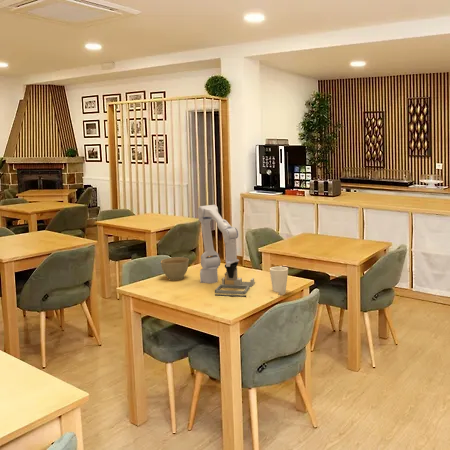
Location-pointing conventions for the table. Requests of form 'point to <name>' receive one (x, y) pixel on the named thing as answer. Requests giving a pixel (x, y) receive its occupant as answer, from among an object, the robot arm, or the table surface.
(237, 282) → the block
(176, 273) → the planter bowl
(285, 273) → the foam cup
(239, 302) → the table surface
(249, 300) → the table surface
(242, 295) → the parts tray
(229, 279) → the block
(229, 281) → the fuse
